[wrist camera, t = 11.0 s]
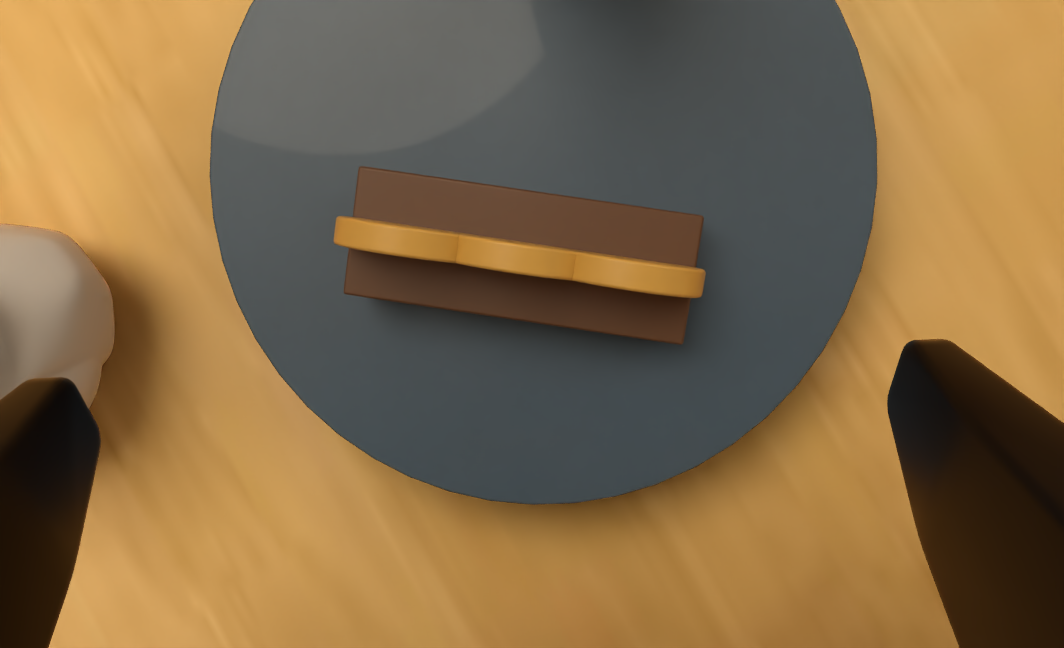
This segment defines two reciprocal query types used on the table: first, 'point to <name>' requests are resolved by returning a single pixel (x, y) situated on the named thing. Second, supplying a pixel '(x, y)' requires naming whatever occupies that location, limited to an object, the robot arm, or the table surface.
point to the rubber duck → (51, 311)
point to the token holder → (543, 225)
